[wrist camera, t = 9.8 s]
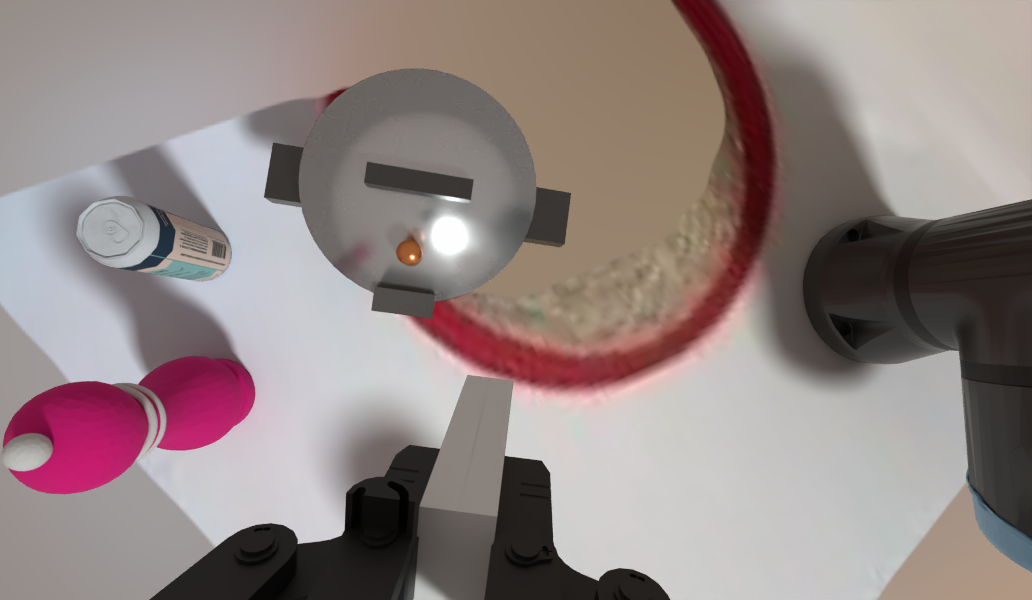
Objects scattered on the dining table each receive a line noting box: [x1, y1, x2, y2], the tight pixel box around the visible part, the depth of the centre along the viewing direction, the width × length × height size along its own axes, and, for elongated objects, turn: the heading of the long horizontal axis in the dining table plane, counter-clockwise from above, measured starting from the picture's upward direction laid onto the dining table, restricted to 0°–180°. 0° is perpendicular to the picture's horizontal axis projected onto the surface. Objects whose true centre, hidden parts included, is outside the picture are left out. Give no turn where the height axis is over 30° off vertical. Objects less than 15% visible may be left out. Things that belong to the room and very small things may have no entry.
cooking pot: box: [264, 143, 571, 302], centre depth 40 cm, size 22×15×11 cm
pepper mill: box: [2, 356, 255, 494], centre depth 33 cm, size 7×7×20 cm
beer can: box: [76, 196, 232, 281], centre depth 37 cm, size 5×5×12 cm
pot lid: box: [299, 69, 536, 318], centre depth 33 cm, size 16×17×3 cm
